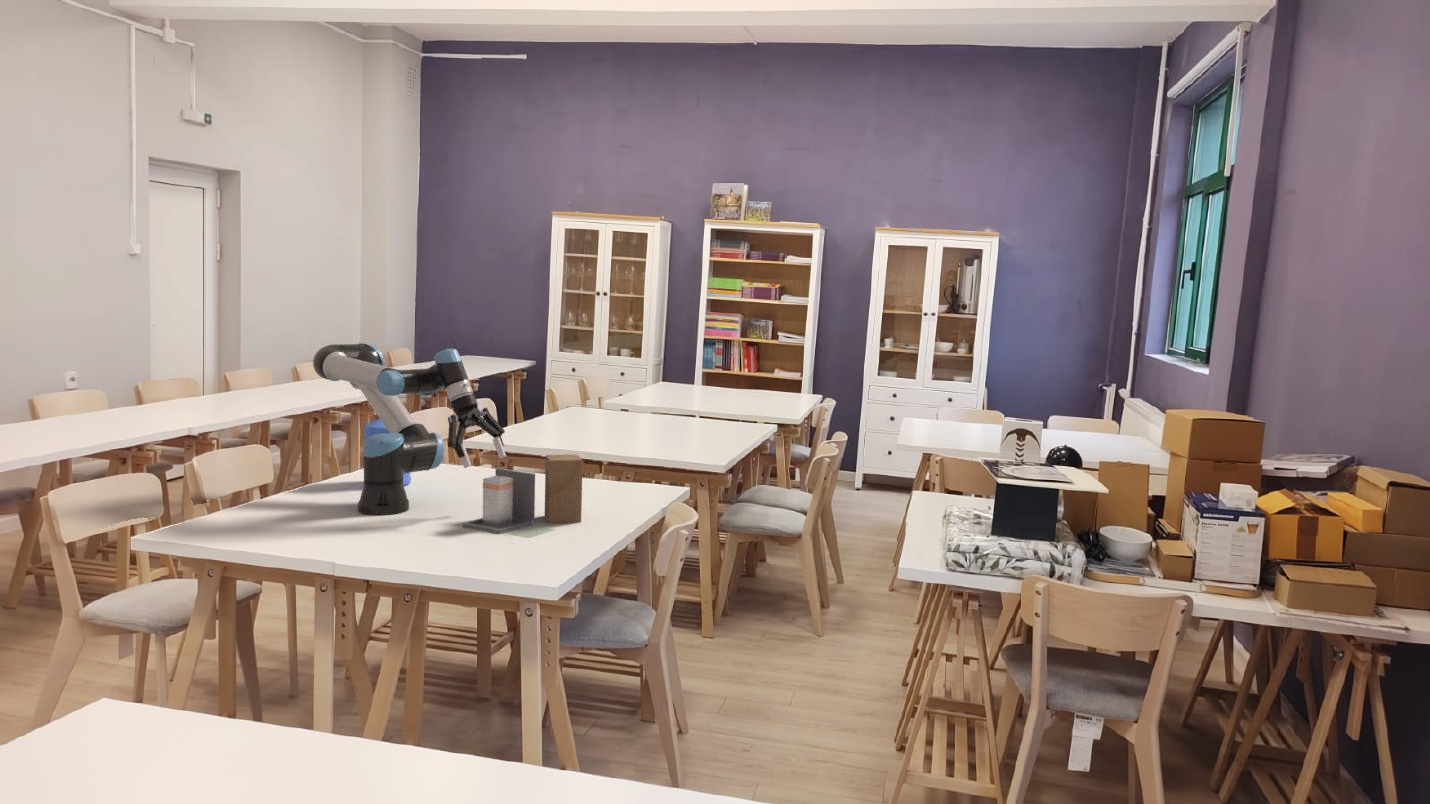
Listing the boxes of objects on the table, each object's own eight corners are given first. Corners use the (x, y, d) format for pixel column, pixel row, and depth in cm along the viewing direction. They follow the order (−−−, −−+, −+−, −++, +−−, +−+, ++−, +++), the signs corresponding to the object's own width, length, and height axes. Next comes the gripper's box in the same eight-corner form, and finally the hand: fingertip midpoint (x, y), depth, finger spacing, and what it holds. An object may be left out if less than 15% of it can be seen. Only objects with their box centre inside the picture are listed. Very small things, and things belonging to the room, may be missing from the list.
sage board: (506, 537, 281) (506, 533, 280) (533, 529, 291) (533, 525, 291) (528, 541, 277) (528, 537, 277) (555, 533, 287) (555, 529, 287)
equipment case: (462, 529, 287) (462, 475, 285) (497, 520, 300) (498, 468, 299) (500, 537, 280) (500, 481, 279) (534, 526, 294) (535, 473, 292)
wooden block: (547, 526, 295) (548, 460, 293) (544, 518, 304) (545, 454, 302) (581, 525, 297) (582, 459, 295) (576, 518, 307) (578, 454, 305)
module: (482, 525, 288) (482, 478, 287) (496, 522, 294) (496, 475, 292) (498, 528, 286) (499, 481, 284) (512, 524, 291) (513, 478, 289)
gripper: (435, 400, 293) (459, 467, 291) (500, 387, 313) (523, 450, 311) (421, 408, 298) (445, 474, 296) (487, 395, 317) (509, 457, 315)
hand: (485, 462), depth 303 cm, fingers open, 13 cm apart
